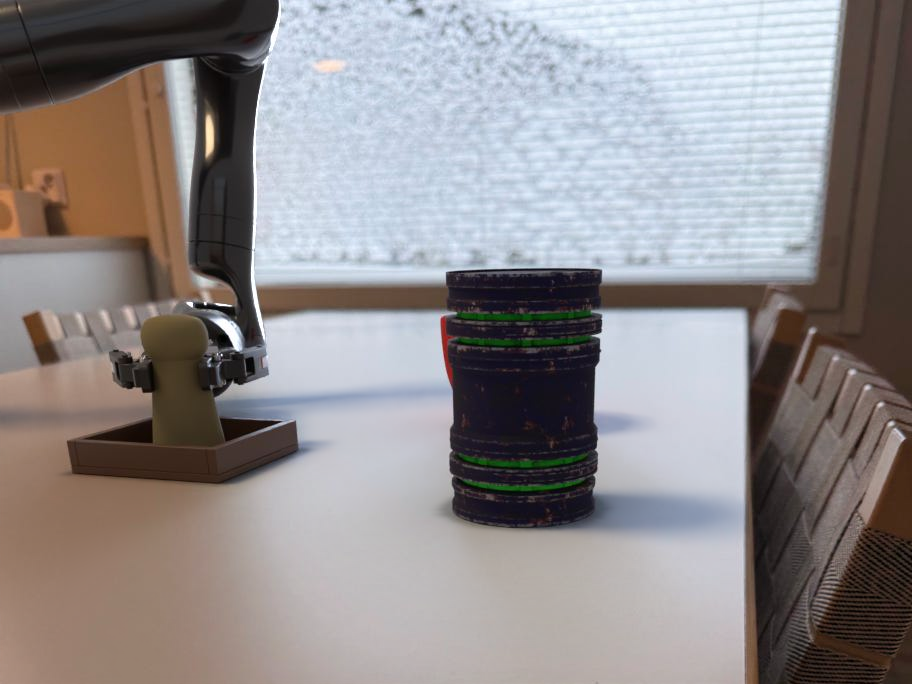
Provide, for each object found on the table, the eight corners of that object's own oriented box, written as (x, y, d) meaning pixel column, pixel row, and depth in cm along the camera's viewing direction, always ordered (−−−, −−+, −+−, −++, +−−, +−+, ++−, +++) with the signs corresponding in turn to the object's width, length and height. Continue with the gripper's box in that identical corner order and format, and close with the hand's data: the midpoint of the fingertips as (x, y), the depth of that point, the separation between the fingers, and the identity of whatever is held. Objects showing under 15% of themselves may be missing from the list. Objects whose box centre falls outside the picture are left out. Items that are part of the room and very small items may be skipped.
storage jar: (421, 506, 65) (411, 272, 59) (526, 482, 71) (527, 267, 65) (518, 537, 58) (518, 275, 52) (627, 508, 64) (638, 269, 58)
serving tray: (72, 473, 76) (66, 440, 75) (166, 442, 87) (162, 413, 86) (219, 483, 72) (214, 449, 71) (299, 450, 83) (296, 420, 82)
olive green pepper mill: (138, 459, 78) (116, 318, 73) (176, 444, 83) (158, 311, 79) (205, 462, 76) (187, 318, 72) (240, 447, 82) (224, 311, 77)
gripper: (115, 314, 88) (71, 330, 72) (272, 309, 90) (262, 325, 74) (128, 397, 91) (88, 430, 75) (280, 391, 93) (272, 422, 77)
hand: (175, 378), depth 75 cm, fingers closed on olive green pepper mill, 4 cm apart
